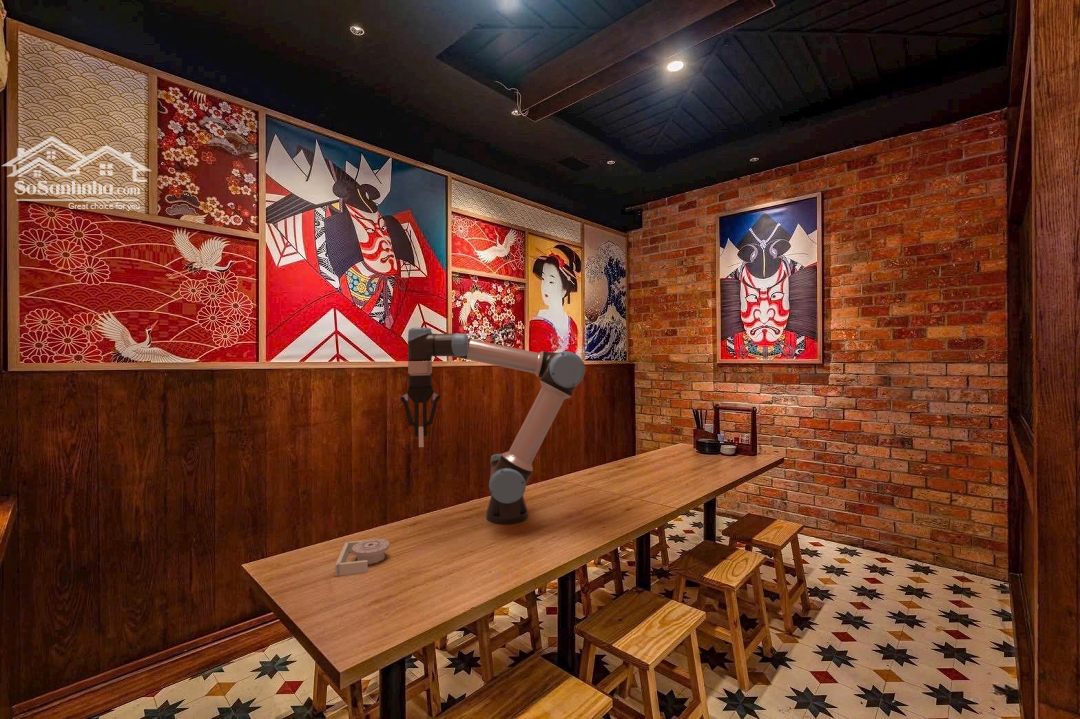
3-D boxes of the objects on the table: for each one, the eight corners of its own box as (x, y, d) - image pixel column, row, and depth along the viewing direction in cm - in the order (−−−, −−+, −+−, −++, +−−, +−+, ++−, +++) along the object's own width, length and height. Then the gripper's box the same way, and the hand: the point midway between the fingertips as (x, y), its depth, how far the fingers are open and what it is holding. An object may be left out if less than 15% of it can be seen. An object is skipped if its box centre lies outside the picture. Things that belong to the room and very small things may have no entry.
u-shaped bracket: (373, 549, 139) (373, 539, 139) (367, 572, 124) (367, 561, 124) (345, 552, 137) (345, 542, 137) (335, 576, 122) (335, 565, 122)
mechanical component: (360, 538, 137) (393, 537, 137) (360, 552, 137) (393, 552, 137) (346, 551, 127) (382, 551, 127) (346, 567, 127) (382, 567, 127)
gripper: (439, 373, 156) (440, 443, 156) (399, 374, 153) (400, 445, 152) (441, 374, 149) (442, 447, 149) (399, 375, 145) (400, 449, 145)
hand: (421, 446), depth 151 cm, fingers closed
